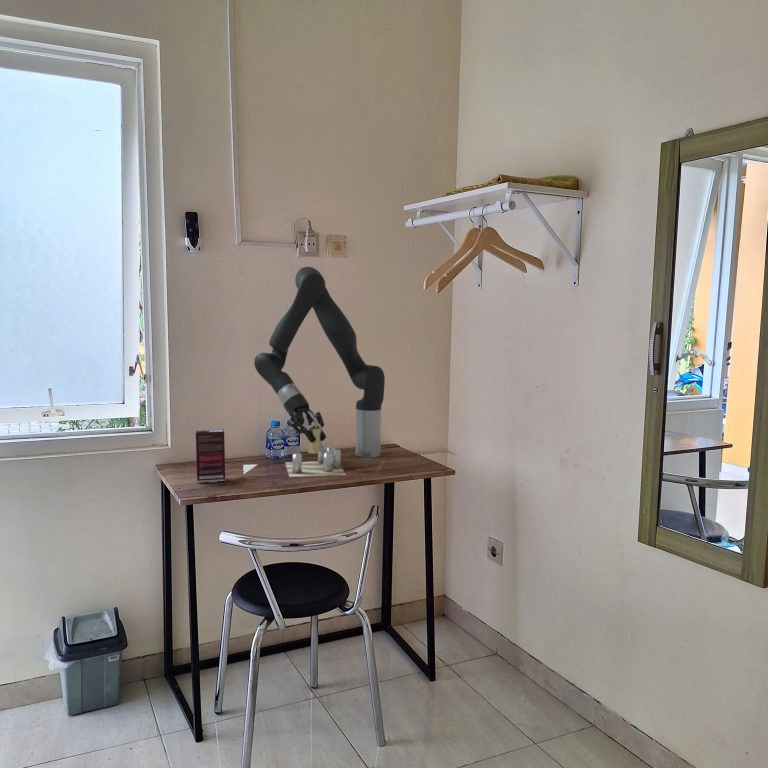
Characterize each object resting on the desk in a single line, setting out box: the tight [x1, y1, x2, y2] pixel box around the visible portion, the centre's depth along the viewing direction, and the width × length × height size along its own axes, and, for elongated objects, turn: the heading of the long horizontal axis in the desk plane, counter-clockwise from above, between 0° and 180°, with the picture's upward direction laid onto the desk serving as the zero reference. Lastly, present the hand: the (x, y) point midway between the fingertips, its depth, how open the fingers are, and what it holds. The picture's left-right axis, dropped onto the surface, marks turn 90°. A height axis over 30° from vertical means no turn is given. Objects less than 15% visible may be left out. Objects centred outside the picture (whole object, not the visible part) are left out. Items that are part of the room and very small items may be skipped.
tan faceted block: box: [307, 426, 323, 455], centre depth 229 cm, size 5×4×8 cm
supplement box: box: [195, 428, 226, 484], centre depth 215 cm, size 9×5×16 cm, turn 105°
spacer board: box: [284, 461, 347, 478], centre depth 230 cm, size 20×18×1 cm
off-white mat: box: [242, 463, 259, 475], centre depth 229 cm, size 18×10×1 cm, turn 12°
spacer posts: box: [292, 443, 342, 474], centre depth 231 cm, size 16×16×6 cm
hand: (319, 440), depth 228 cm, fingers closed on tan faceted block, 4 cm apart
